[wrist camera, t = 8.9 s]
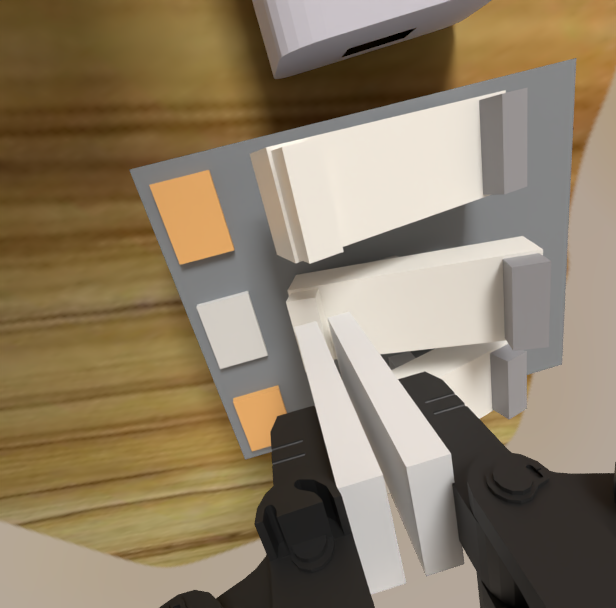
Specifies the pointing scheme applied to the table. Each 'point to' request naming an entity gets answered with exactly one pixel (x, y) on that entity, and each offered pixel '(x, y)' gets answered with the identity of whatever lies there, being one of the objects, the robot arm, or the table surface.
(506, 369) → the rocker
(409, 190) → the rocker
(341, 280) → the rocker
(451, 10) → the charger
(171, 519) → the table surface
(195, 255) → the switch unit
